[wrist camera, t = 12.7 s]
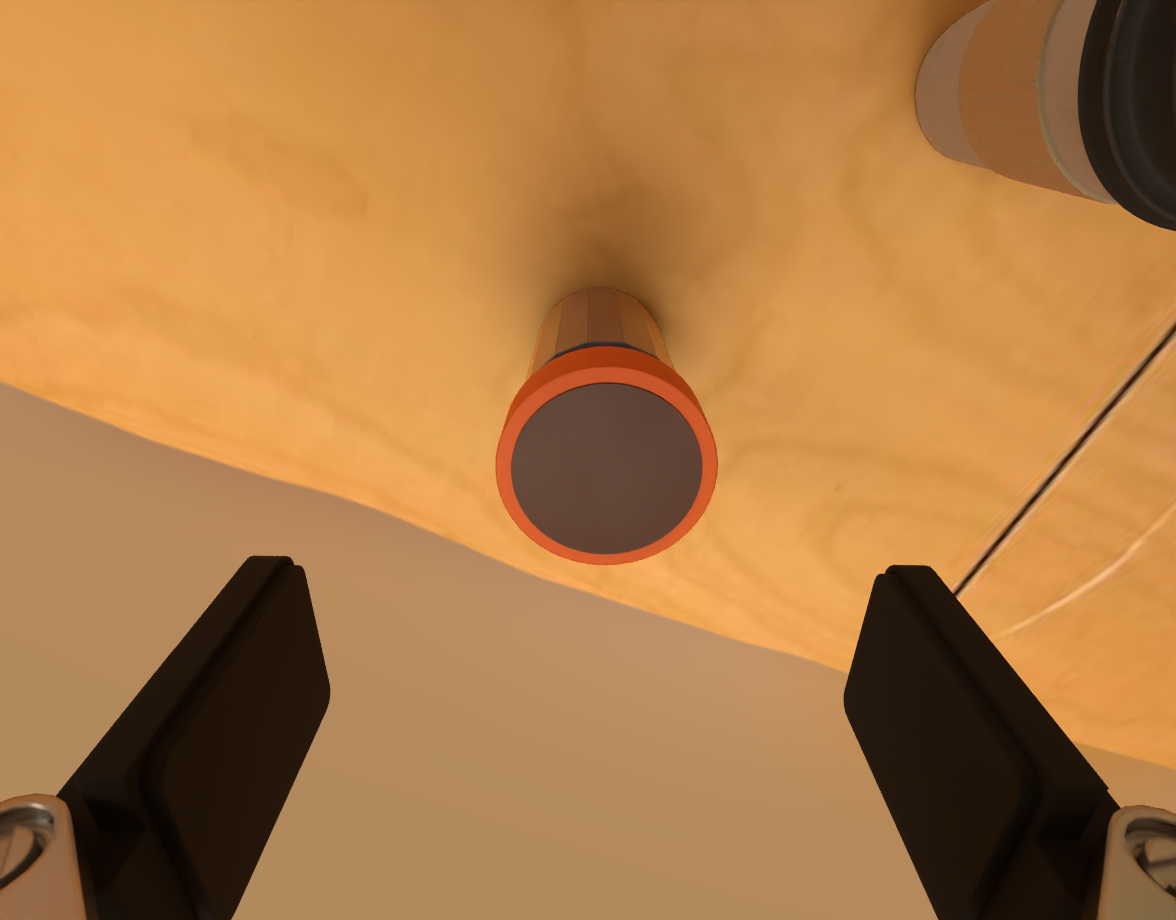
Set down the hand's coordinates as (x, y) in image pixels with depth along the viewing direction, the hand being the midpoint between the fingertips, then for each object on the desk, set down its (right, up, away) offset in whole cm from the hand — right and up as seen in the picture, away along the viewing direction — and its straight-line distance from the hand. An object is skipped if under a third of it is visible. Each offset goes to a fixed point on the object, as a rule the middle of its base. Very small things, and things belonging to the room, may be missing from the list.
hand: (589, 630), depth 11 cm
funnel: (+1, +7, +18) cm, 19 cm away
